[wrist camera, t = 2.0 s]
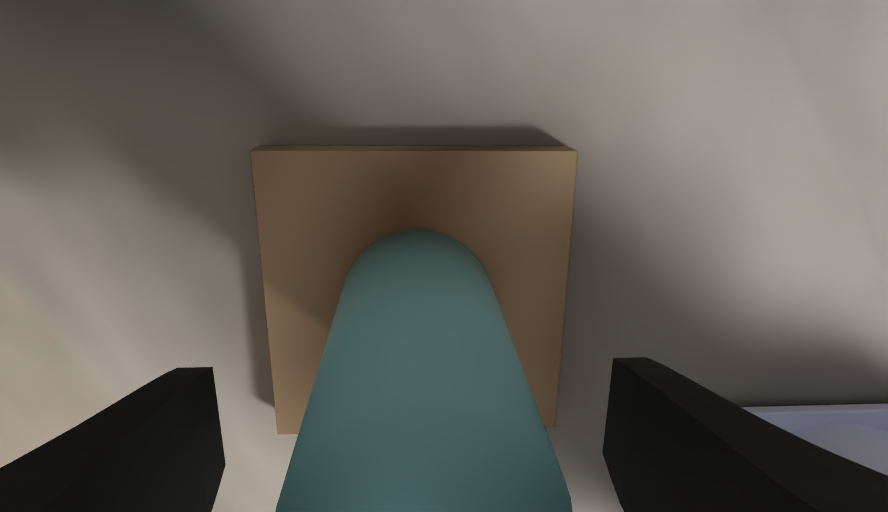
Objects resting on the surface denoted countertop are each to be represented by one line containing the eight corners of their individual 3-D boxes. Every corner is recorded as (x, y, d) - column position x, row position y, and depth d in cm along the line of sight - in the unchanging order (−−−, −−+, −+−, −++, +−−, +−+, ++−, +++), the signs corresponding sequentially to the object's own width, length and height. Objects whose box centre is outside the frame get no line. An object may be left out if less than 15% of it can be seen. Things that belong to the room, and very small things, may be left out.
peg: (494, 229, 15) (585, 400, 7) (489, 367, 16) (561, 637, 8) (338, 230, 15) (260, 408, 7) (345, 370, 16) (286, 649, 8)
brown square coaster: (567, 145, 15) (577, 151, 14) (547, 407, 18) (555, 426, 17) (260, 145, 15) (250, 150, 14) (284, 414, 17) (277, 434, 16)
